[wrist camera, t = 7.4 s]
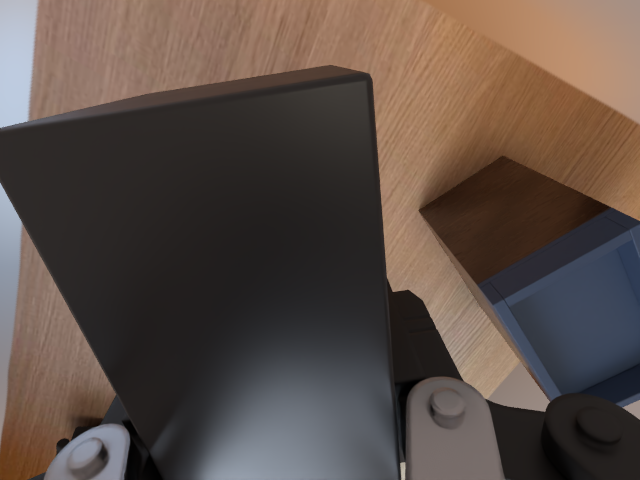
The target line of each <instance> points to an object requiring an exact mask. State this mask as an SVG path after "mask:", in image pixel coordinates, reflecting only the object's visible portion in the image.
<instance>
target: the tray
mask: <svg viewBox="0 0 640 480" xmlns="http://www.w3.org/2000/svg"><path fill="white" fill-rule="evenodd" d="M477 286H478V288H479V289H480V291H481V293H482V294H483V296H484V297H485V299H486V300H487V302H488V304H489V305H490V307H491V308H492V310H493V312H494V313H495V315H496V316H497V318H498V319H499V321H500V323H501V324H502V326H503V327H504V329H505V331H506V332H507V334H508V335H509V337H510V338H511V340H512V342H513V343H514V345H515V346H516V348H517V349H518V351H519V353H520V354H521V356H522V357H523V359H524V361H525V362H526V364H527V365H528V367H529V368H530V370H531V372H532V373H533V375H534V376H535V378H536V380H537V381H538V383H539V384H540V386H541V387H542V389H543V391H544V392H545V394H546V395H547V397H548V399H549V400H550V402H551V401H552V400H553V399H555V398H556V397H558V396H561V395H564V394H569V393H581V394H588V395H593V396H597V397H600V398H603V399H606V400H608V401H610V402H613V403H615V404H616V405H618V406H620V407H624V406H626V405H629V404H631V403H633V402H636V401H638V400H640V221H638V220H636V219H634V218H632V217H630V216H628V215H626V214H624V213H622V212H620V211H617V210H616V209H614V208H610V209H609V210H607V211H605V212H603V213H602V214H600V215H598V216H597V217H595V218H593V219H591V220H590V221H588V222H586V223H584V224H583V225H581V226H579V227H577V228H576V229H574V230H572V231H570V232H569V233H567V234H565V235H563V236H562V237H560V238H558V239H556V240H555V241H553V242H551V243H549V244H548V245H546V246H544V247H542V248H541V249H539V250H537V251H535V252H534V253H532V254H530V255H528V256H527V257H525V258H523V259H521V260H520V261H518V262H516V263H514V264H513V265H511V266H509V267H508V268H506V269H504V270H502V271H501V272H499V273H497V274H495V275H494V276H492V277H490V278H488V279H487V280H485V281H483V282H481V283H480V284H478V285H477Z"/></svg>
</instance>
